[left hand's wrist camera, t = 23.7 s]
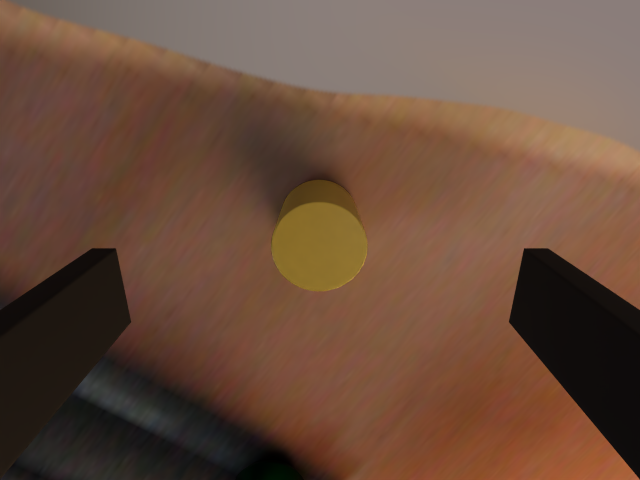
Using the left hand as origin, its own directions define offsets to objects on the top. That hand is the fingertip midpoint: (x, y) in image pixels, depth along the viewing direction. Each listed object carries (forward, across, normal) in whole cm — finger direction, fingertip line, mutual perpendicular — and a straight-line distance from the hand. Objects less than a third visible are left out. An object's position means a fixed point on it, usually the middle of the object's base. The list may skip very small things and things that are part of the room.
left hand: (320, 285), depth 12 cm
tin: (+8, 0, 0) cm, 9 cm away
